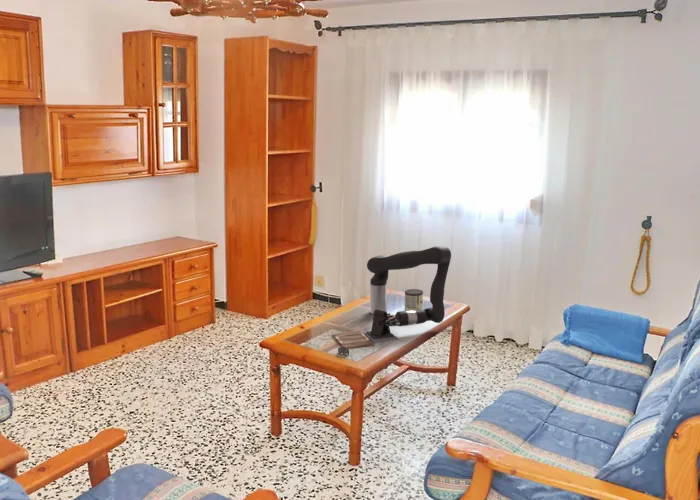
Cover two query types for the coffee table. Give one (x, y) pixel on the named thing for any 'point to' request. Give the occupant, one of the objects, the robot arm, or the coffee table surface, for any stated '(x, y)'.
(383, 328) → the phone stand
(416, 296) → the coffee can
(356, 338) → the marked board
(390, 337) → the ink pad
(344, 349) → the car cutout
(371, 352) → the coffee table surface
